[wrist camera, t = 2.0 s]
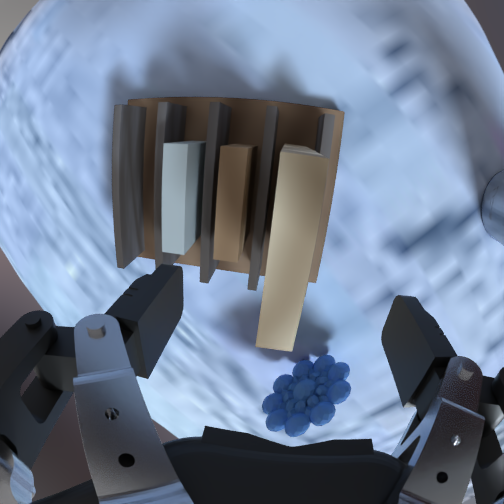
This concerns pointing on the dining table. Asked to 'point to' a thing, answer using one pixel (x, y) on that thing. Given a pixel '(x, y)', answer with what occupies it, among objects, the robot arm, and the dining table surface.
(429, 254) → the dining table surface
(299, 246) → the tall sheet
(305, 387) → the grapes
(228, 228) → the offcut oak
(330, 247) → the dining table surface
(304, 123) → the rack
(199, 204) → the offcut grey
